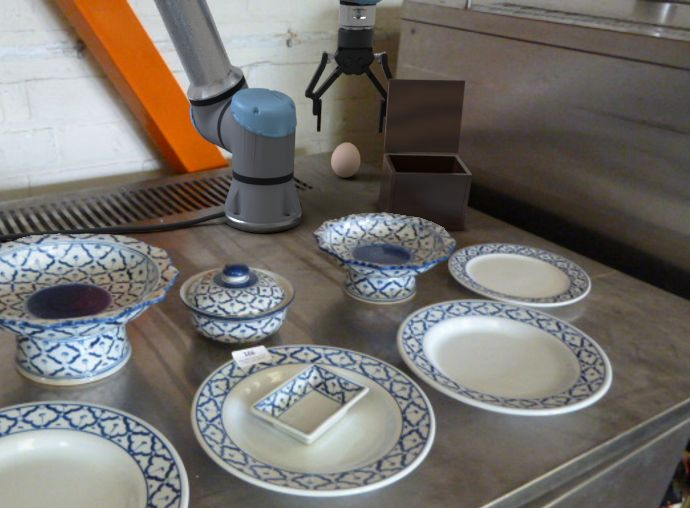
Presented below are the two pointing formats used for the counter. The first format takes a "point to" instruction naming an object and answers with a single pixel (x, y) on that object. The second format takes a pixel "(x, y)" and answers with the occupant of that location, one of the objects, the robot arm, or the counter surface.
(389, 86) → the lid
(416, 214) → the chest
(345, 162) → the egg
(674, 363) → the counter surface
